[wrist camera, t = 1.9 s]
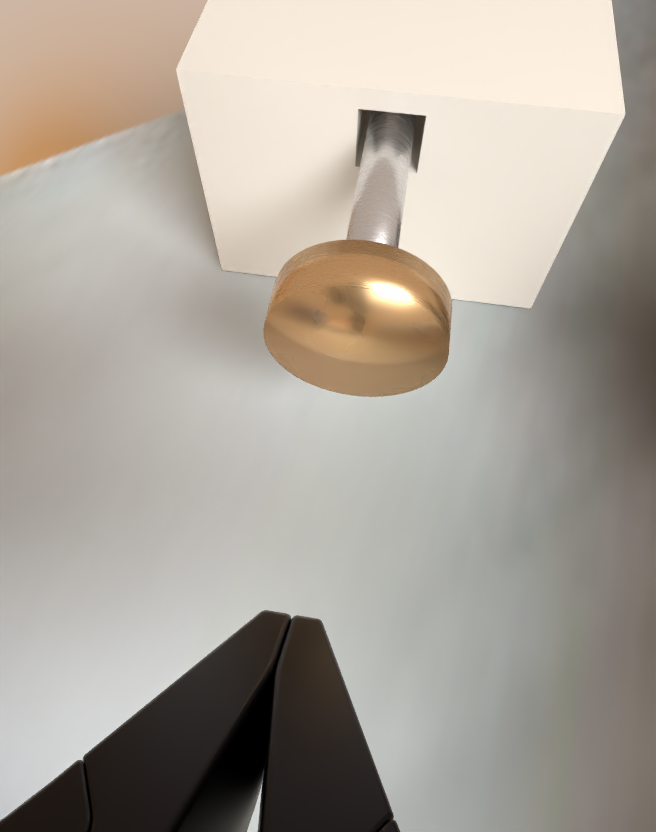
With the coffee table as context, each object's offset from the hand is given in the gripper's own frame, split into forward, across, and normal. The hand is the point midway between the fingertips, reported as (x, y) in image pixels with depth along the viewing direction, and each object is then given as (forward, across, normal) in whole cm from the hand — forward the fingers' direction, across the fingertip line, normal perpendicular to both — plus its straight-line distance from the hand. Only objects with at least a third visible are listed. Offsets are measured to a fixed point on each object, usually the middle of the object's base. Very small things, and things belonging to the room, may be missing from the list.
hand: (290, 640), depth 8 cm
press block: (+23, 0, -6) cm, 24 cm away
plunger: (+14, 0, -5) cm, 15 cm away
